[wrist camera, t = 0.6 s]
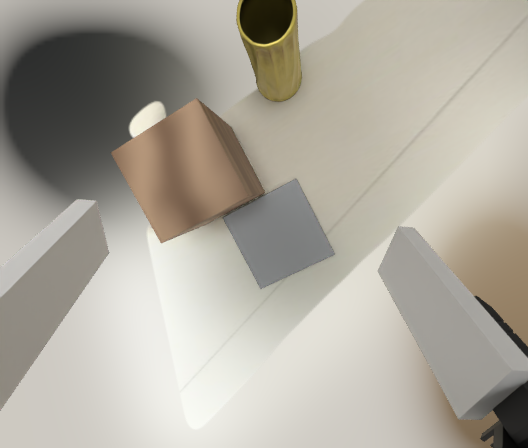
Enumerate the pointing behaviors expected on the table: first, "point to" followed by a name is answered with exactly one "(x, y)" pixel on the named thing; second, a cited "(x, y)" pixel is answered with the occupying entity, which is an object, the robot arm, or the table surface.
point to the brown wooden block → (187, 171)
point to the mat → (278, 234)
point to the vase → (272, 45)
